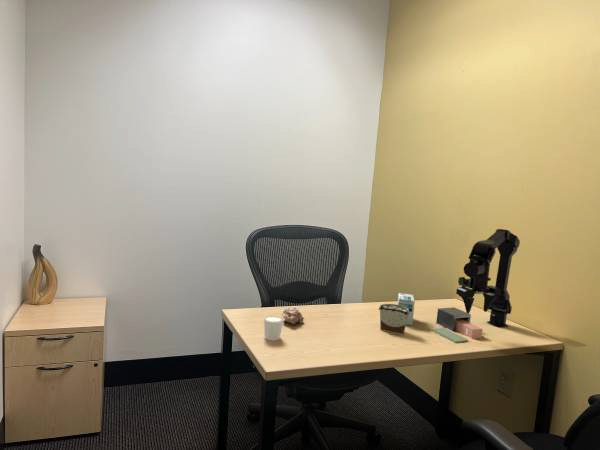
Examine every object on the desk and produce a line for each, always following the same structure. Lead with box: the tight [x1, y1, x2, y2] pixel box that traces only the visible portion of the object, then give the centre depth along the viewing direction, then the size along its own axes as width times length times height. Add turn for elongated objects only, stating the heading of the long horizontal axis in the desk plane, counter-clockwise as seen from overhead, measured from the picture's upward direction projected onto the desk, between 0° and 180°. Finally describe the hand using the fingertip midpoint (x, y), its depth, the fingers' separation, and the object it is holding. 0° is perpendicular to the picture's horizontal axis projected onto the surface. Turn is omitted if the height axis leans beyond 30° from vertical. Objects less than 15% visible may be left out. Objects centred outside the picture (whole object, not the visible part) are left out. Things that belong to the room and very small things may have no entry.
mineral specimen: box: [281, 307, 305, 325], centre depth 188 cm, size 12×8×7 cm
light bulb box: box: [397, 292, 416, 326], centre depth 200 cm, size 11×7×11 cm, turn 168°
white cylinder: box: [263, 315, 284, 341], centre depth 169 cm, size 7×7×7 cm
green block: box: [431, 327, 469, 344], centre depth 186 cm, size 6×14×1 cm, turn 24°
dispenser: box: [435, 307, 472, 332], centre depth 198 cm, size 9×10×6 cm
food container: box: [378, 303, 410, 336], centre depth 187 cm, size 12×6×10 cm, turn 65°
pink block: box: [455, 318, 483, 339], centre depth 191 cm, size 5×13×4 cm, turn 21°
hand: (476, 312), depth 186 cm, fingers open, 9 cm apart
